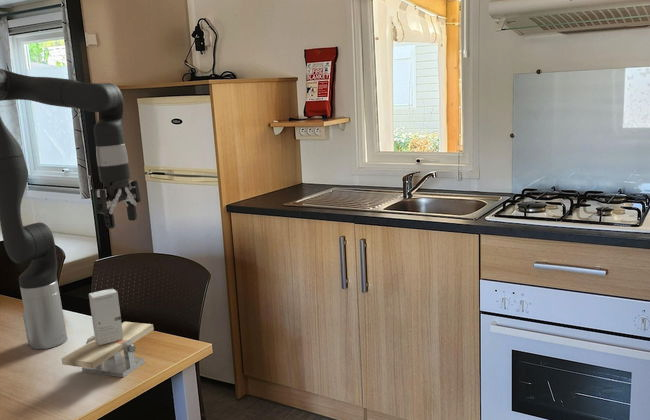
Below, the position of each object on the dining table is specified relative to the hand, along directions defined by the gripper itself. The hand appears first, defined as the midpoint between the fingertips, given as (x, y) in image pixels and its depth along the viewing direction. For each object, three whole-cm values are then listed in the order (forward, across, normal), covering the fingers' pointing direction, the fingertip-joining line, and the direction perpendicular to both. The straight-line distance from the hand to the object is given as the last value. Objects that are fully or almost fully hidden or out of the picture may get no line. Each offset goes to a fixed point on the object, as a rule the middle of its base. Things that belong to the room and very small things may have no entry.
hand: (122, 224), depth 161 cm
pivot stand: (+32, -16, -5) cm, 36 cm away
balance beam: (+27, -16, -5) cm, 31 cm away
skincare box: (+25, -16, -5) cm, 30 cm away
